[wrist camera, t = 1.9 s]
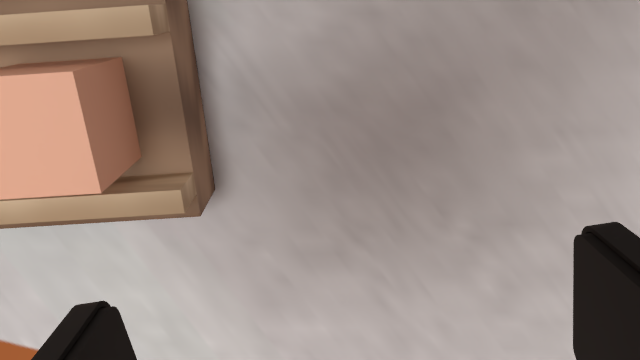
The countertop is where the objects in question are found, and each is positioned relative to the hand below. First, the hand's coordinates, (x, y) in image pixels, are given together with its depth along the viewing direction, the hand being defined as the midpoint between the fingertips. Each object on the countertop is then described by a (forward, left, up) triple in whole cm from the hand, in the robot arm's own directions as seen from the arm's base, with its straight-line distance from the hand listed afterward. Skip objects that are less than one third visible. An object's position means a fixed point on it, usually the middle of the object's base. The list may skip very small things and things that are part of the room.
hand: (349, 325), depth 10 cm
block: (-2, -12, -16) cm, 20 cm away
